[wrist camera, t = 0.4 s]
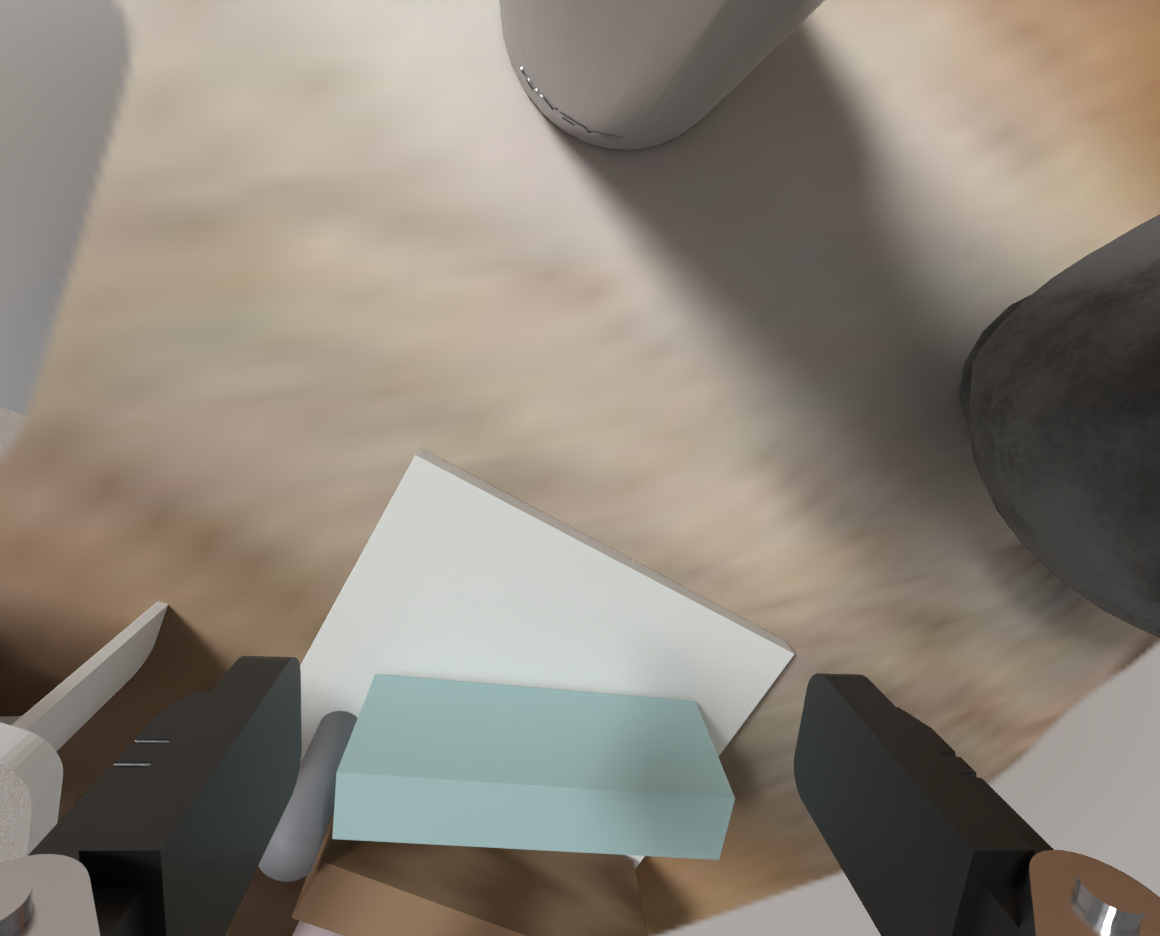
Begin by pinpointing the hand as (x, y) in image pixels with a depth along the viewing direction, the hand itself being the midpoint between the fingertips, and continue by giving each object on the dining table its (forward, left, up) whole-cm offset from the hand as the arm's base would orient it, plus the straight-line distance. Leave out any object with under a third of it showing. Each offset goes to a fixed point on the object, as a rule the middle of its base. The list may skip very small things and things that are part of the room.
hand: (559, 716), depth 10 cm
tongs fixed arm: (+18, +8, -17) cm, 26 cm away
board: (+11, +6, -19) cm, 22 cm away
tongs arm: (+12, +5, -17) cm, 22 cm away
